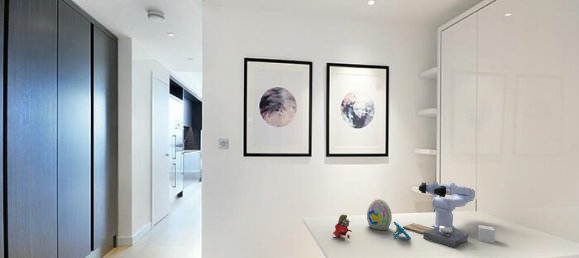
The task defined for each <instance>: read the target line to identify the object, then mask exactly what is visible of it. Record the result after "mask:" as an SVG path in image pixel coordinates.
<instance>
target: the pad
mask: <svg viewBox="0 0 579 258" xmlns="http://www.w3.org/2000/svg"><path fill="white" fill-rule="evenodd" d="M402 228H404V230H408V231H411V232H413V233H417V234H421V235H423V233H424V232H425V231H427V230H430V229H433V227H428V226H425V225H422V224H419V223H418V224H417V223H414V222H413V223H410V224H407V225H403V226H402Z"/></svg>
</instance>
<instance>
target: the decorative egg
mask: <svg viewBox="0 0 579 258" xmlns="http://www.w3.org/2000/svg"><path fill="white" fill-rule="evenodd" d="M391 211H392V210H391V208H390V206H389V204H388V203H387V201H386V200H385V199H383V198H376V199H374V200H373V201H372V202H371V203H370V204H369V206H368V207H367V211H366V220H367V224H368V226H370V228H371V229H373V230H377V231H386V230H387V229H389V228H390V226H391V223H392V212H391Z"/></svg>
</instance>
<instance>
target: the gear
mask: <svg viewBox="0 0 579 258" xmlns="http://www.w3.org/2000/svg"><path fill="white" fill-rule="evenodd" d="M392 223H393V224H394V225H395V227H396V228H395V231H394V232H393V233H392V235H393V238H394V239H397V238H398V237H399V236H400V235H402V234H403V235H404V236H405V237H406V238H407V240H411V239H412V238H411V237H410V235H409V234H408V232H406V230H405V229H403V226H400V224H399V223H397V222H396V221H394V222H392Z"/></svg>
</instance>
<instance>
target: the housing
mask: <svg viewBox="0 0 579 258" xmlns="http://www.w3.org/2000/svg"><path fill="white" fill-rule="evenodd" d="M432 228H433V227H432ZM422 235H423V237H422V238H423V239H424V240H428V241H431V242H435V243H437V244H440V245H444V246H447V247H451V248H453V249H456V248H459V246H462V245H464V244H466V243H468V242H469V239H468V238H469V235H468V234H464V233H461V232H457V231H453V230H452V234H450V236H447V235H444V234H441V233H440V232H439V227H434V228H433V229H430V230H427V231H425V232H424V233H423V234H422Z"/></svg>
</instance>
